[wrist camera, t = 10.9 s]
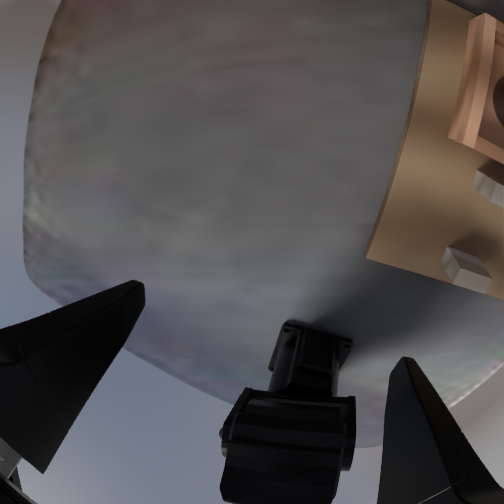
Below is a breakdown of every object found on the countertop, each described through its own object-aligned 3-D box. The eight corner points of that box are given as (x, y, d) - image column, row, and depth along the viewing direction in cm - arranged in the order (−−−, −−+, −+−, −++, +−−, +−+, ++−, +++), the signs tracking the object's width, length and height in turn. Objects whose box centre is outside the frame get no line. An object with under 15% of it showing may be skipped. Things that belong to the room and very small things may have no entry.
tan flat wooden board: (503, 294, 19) (520, 324, 16) (365, 251, 21) (369, 282, 18) (572, 90, 10) (602, 95, 6) (428, -2, 12) (447, -20, 8)
